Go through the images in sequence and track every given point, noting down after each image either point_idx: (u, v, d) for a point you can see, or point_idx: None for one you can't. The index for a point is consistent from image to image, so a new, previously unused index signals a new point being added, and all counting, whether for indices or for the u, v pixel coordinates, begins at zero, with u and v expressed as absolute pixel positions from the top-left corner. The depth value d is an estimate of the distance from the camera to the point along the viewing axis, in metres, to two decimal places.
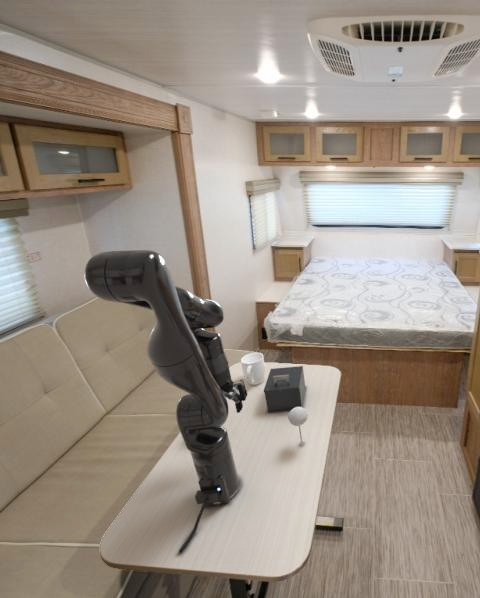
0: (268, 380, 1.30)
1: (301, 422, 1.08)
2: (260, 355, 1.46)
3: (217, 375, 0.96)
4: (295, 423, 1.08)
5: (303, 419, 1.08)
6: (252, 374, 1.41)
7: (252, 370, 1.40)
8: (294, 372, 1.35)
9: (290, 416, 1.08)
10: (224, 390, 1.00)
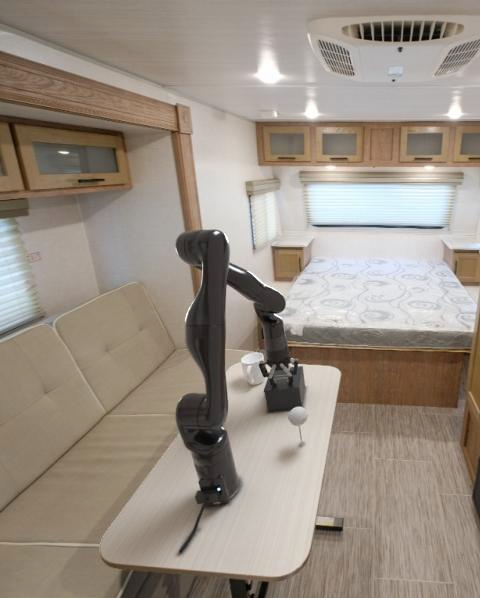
0: (268, 380, 1.30)
1: (301, 422, 1.08)
2: (260, 355, 1.46)
3: (280, 351, 1.19)
4: (295, 423, 1.08)
5: (303, 419, 1.08)
6: (252, 374, 1.41)
7: (252, 370, 1.40)
8: None
9: (290, 416, 1.08)
10: (284, 364, 1.23)
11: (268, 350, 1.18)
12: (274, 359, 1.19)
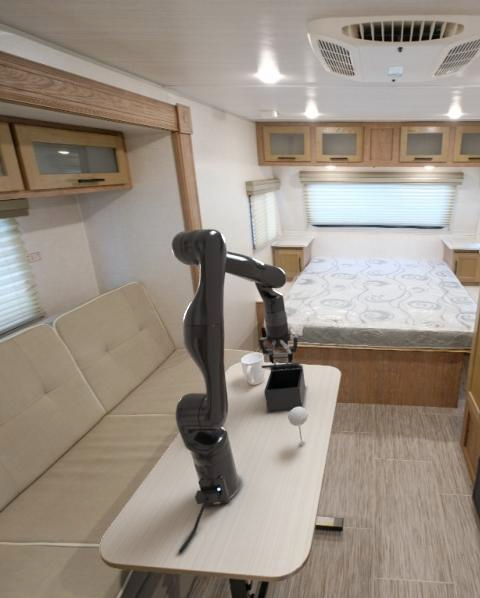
0: None
1: (301, 422, 1.08)
2: (260, 355, 1.46)
3: (280, 326, 1.21)
4: (295, 423, 1.08)
5: (303, 419, 1.08)
6: (252, 374, 1.41)
7: (252, 370, 1.40)
8: None
9: (290, 416, 1.08)
10: (283, 340, 1.25)
11: (268, 325, 1.20)
12: (274, 334, 1.21)
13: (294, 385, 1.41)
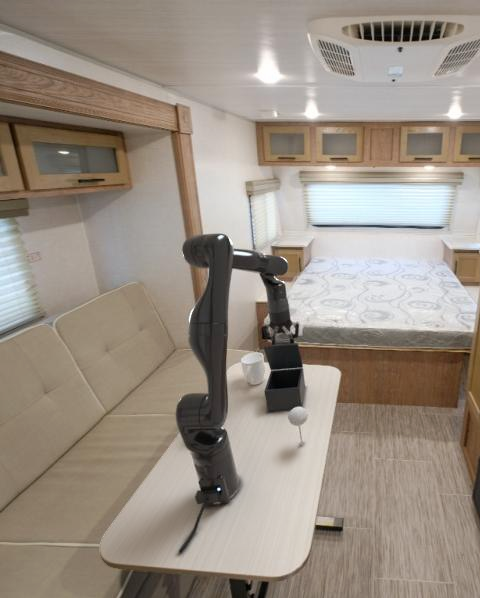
0: None
1: (301, 422, 1.08)
2: (260, 355, 1.46)
3: (282, 312, 1.26)
4: (295, 423, 1.08)
5: (303, 419, 1.08)
6: (252, 374, 1.41)
7: (252, 370, 1.40)
8: None
9: (290, 416, 1.08)
10: (285, 327, 1.31)
11: (271, 312, 1.26)
12: (277, 321, 1.27)
13: (294, 385, 1.41)
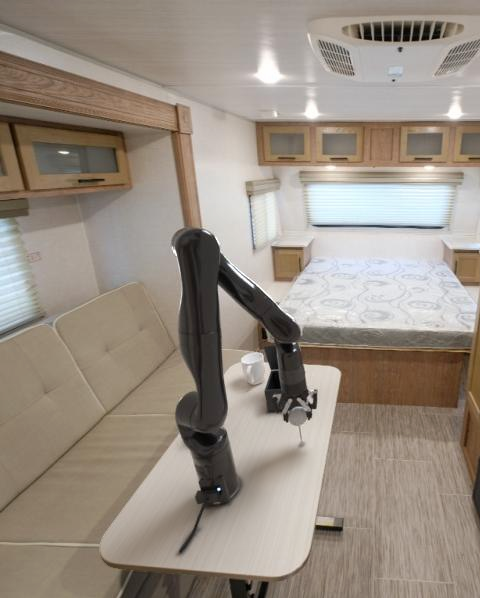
0: None
1: (301, 422, 1.08)
2: (260, 355, 1.46)
3: (297, 384, 1.02)
4: (295, 423, 1.08)
5: (303, 419, 1.08)
6: (252, 374, 1.41)
7: (252, 370, 1.40)
8: None
9: (290, 416, 1.08)
10: (301, 398, 1.06)
11: (284, 383, 1.01)
12: (290, 394, 1.02)
13: None
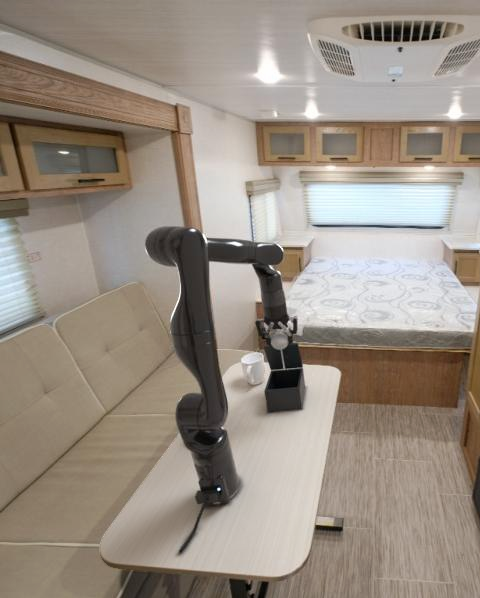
0: None
1: (282, 345, 1.18)
2: (260, 355, 1.46)
3: (278, 307, 1.12)
4: (277, 346, 1.18)
5: (284, 343, 1.18)
6: (252, 374, 1.41)
7: (252, 370, 1.40)
8: None
9: (272, 340, 1.18)
10: (282, 322, 1.16)
11: (265, 306, 1.11)
12: (271, 316, 1.12)
13: (294, 385, 1.41)
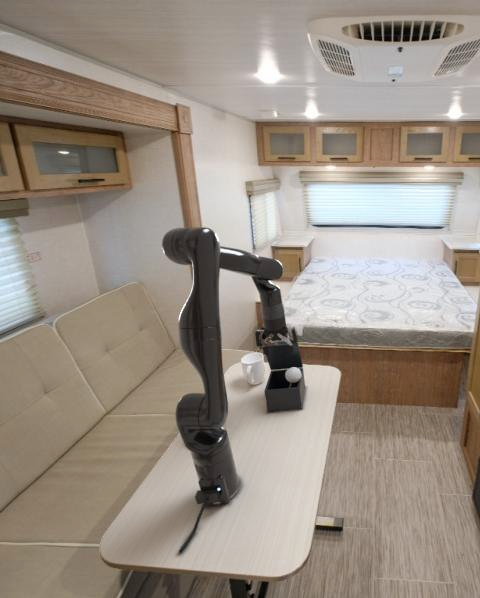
0: None
1: (295, 380, 1.29)
2: (260, 355, 1.46)
3: (277, 319, 1.18)
4: (290, 379, 1.28)
5: (298, 378, 1.29)
6: (252, 374, 1.41)
7: (252, 370, 1.40)
8: None
9: (288, 372, 1.29)
10: (281, 334, 1.22)
11: (265, 319, 1.17)
12: (271, 328, 1.18)
13: (294, 385, 1.41)
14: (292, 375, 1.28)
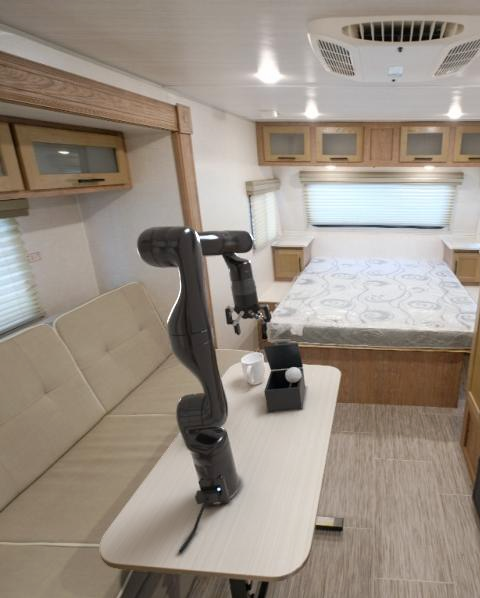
0: None
1: (295, 380, 1.29)
2: (260, 355, 1.46)
3: (247, 295, 1.12)
4: (290, 379, 1.28)
5: (298, 378, 1.29)
6: (252, 374, 1.41)
7: (252, 370, 1.40)
8: None
9: (288, 372, 1.29)
10: (252, 311, 1.16)
11: (235, 294, 1.11)
12: (241, 304, 1.12)
13: (294, 385, 1.41)
14: (292, 375, 1.28)
